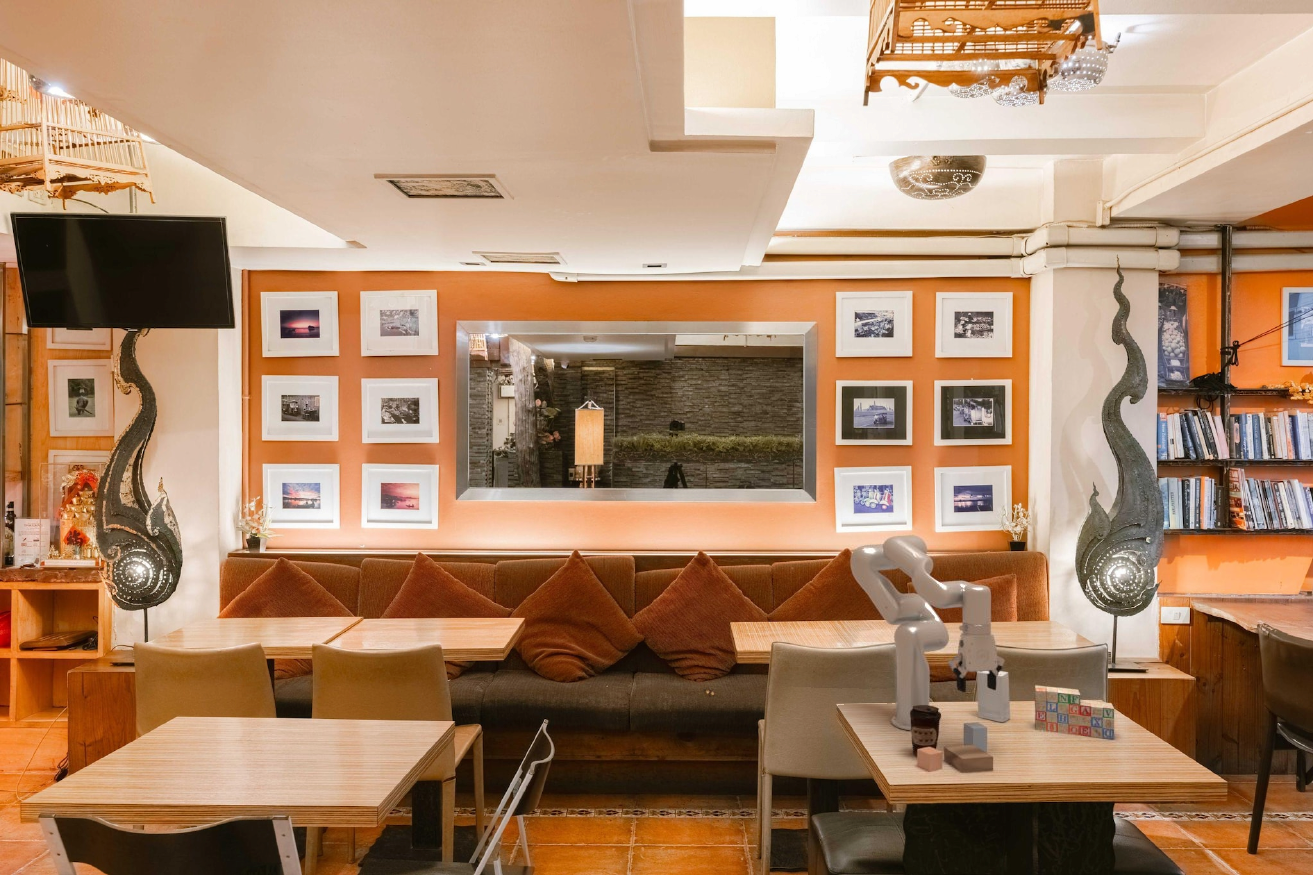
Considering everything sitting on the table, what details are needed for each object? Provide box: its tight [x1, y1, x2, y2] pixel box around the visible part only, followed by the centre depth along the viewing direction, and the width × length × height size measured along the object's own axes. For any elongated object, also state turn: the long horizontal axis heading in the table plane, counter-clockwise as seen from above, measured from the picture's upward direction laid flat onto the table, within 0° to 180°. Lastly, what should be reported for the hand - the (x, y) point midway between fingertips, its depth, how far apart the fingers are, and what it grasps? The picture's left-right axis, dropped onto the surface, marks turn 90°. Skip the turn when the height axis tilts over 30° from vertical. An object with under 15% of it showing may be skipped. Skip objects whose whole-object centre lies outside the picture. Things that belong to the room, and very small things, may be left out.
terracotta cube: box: [916, 747, 943, 772], centre depth 226 cm, size 4×4×4 cm
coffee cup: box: [910, 704, 942, 756], centre depth 235 cm, size 9×8×13 cm
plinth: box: [943, 745, 994, 774], centre depth 227 cm, size 9×9×4 cm
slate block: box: [962, 722, 988, 753], centre depth 239 cm, size 4×4×7 cm
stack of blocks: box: [1034, 684, 1115, 740], centre depth 256 cm, size 21×6×12 cm, turn 67°
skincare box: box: [976, 670, 1011, 723], centre depth 268 cm, size 8×6×15 cm
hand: (976, 689), depth 239 cm, fingers open, 9 cm apart
